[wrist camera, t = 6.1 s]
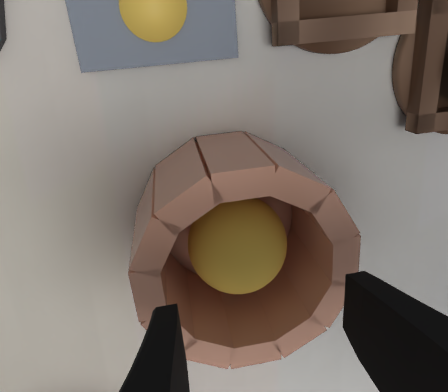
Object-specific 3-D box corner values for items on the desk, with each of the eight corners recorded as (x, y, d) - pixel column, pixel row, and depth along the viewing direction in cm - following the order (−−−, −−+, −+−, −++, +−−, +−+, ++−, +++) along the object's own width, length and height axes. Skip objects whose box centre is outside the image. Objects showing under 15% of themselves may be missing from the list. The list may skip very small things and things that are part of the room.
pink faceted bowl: (308, 123, 16) (366, 153, 12) (307, 274, 19) (353, 345, 15) (124, 145, 15) (109, 187, 11) (154, 300, 18) (152, 384, 14)
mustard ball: (270, 175, 16) (302, 212, 13) (272, 253, 18) (301, 306, 14) (179, 186, 16) (185, 228, 12) (189, 265, 17) (197, 324, 14)
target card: (229, -62, 13) (231, -66, 13) (236, 57, 15) (239, 57, 14) (55, -52, 12) (51, -56, 12) (82, 72, 14) (80, 72, 14)
